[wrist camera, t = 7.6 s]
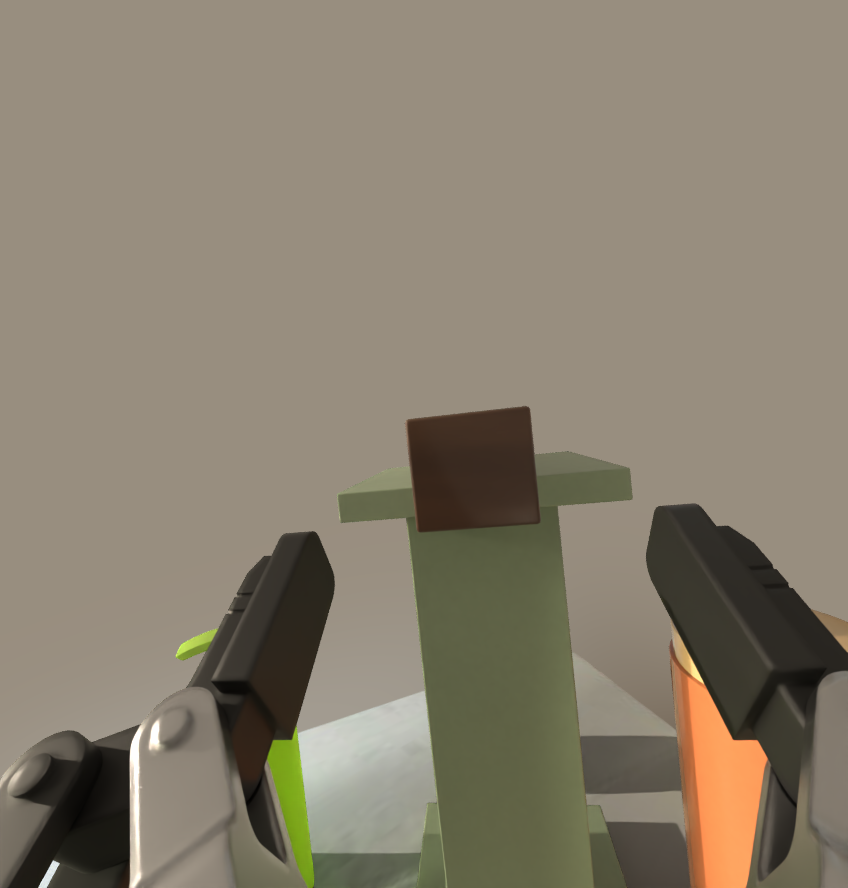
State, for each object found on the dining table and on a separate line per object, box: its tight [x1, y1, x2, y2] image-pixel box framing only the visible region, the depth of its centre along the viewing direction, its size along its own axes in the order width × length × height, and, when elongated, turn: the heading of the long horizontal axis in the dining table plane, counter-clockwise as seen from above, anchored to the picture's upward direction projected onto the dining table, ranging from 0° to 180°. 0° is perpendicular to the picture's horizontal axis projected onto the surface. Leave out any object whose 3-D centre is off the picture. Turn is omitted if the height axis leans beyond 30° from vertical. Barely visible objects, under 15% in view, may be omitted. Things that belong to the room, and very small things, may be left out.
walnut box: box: [405, 406, 541, 533], centre depth 22 cm, size 24×3×3 cm, turn 173°
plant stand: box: [337, 451, 632, 888], centre depth 26 cm, size 14×14×30 cm
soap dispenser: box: [176, 629, 314, 888], centre depth 29 cm, size 6×7×20 cm
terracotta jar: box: [669, 610, 848, 888], centre depth 21 cm, size 9×9×20 cm
